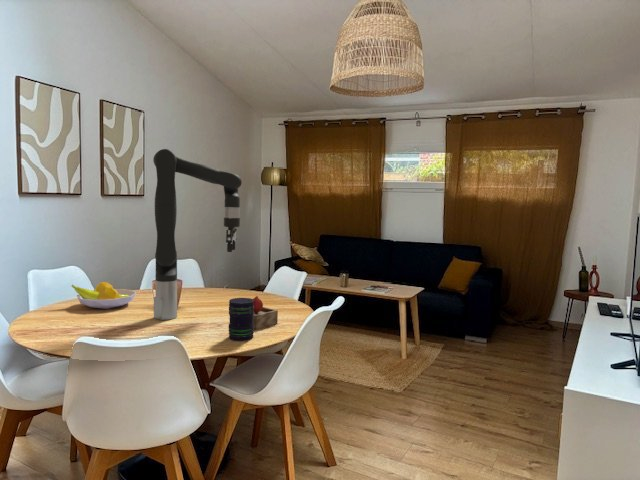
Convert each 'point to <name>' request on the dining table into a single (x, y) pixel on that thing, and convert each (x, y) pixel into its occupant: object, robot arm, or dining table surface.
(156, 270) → the robot arm
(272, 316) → the wooden square tray
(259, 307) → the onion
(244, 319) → the storage jar
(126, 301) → the fruit bowl
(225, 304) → the dining table surface
